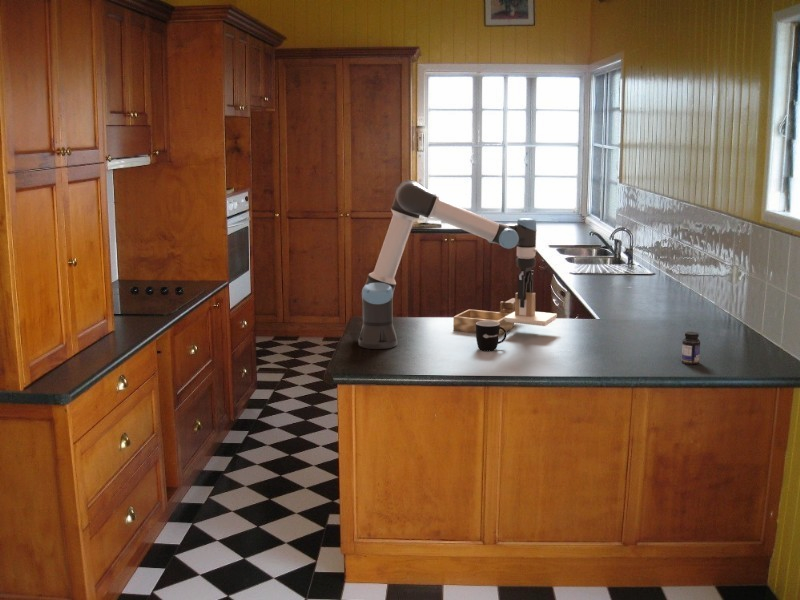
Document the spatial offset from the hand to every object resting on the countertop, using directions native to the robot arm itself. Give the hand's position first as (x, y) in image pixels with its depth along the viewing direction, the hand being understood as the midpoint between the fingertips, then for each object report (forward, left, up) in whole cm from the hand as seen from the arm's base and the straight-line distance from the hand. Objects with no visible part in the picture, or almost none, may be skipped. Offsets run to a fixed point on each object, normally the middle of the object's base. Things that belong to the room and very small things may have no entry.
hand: (524, 313), depth 359 cm
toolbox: (-18, +1, -8) cm, 20 cm away
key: (-11, +16, -1) cm, 19 cm away
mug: (-3, -29, -9) cm, 30 cm away
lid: (+2, 0, -3) cm, 4 cm away
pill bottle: (+68, -15, -9) cm, 70 cm away
